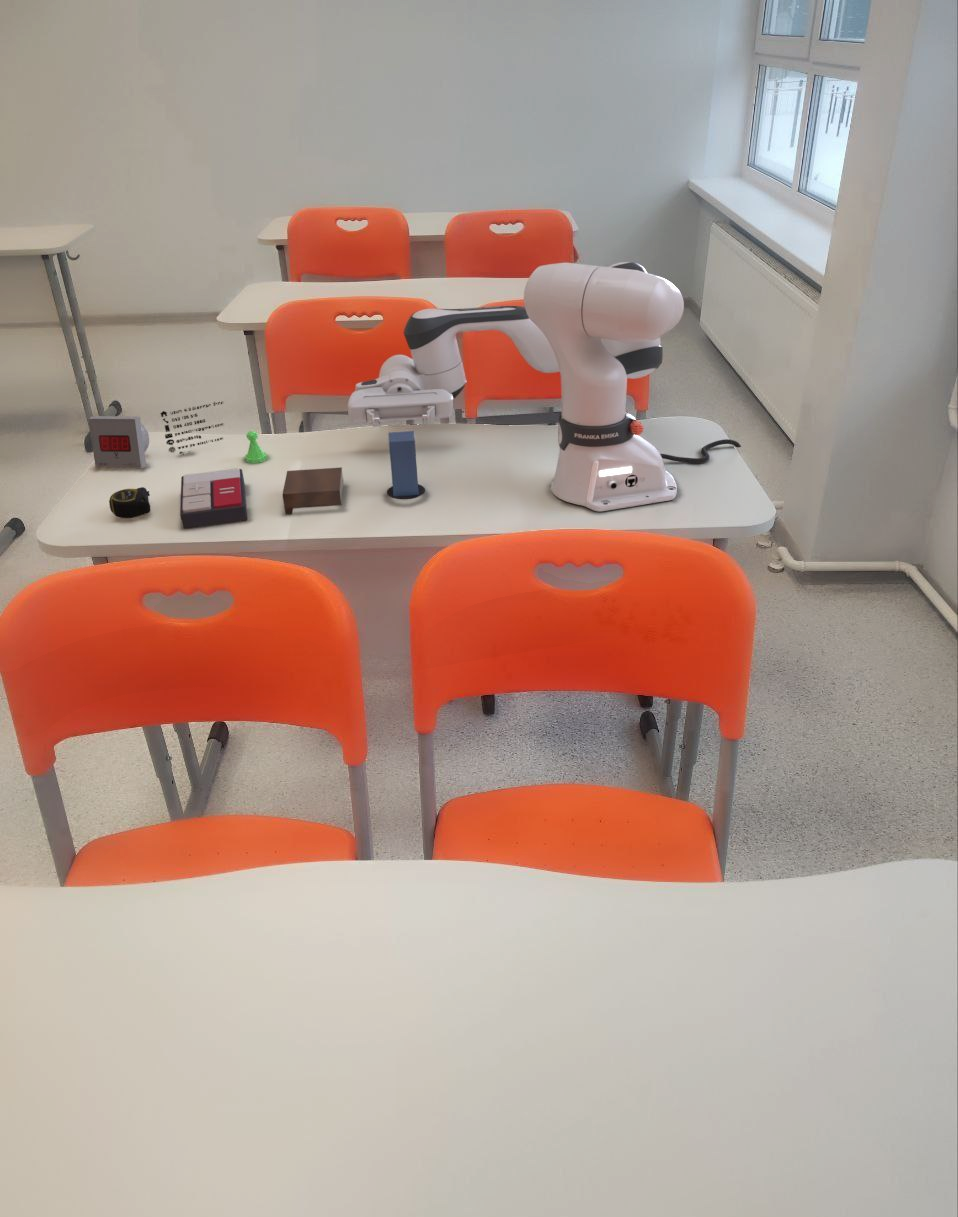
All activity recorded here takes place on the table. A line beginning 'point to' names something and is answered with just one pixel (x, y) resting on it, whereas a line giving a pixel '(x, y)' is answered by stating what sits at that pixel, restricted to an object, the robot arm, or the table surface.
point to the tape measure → (130, 503)
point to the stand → (312, 488)
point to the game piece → (254, 449)
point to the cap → (420, 490)
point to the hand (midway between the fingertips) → (401, 421)
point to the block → (403, 463)
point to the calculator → (213, 498)
